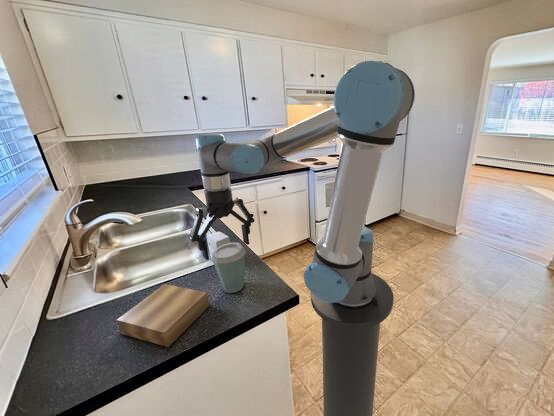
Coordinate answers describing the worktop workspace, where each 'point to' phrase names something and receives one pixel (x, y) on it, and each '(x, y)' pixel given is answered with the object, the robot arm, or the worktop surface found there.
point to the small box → (216, 241)
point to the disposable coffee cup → (230, 266)
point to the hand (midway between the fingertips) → (227, 250)
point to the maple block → (164, 314)
